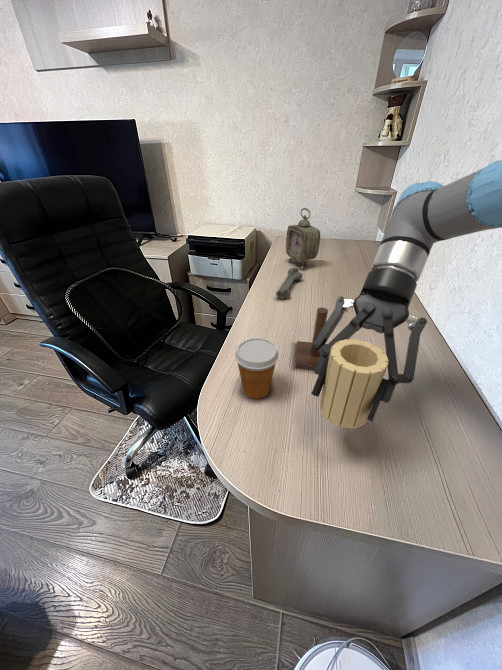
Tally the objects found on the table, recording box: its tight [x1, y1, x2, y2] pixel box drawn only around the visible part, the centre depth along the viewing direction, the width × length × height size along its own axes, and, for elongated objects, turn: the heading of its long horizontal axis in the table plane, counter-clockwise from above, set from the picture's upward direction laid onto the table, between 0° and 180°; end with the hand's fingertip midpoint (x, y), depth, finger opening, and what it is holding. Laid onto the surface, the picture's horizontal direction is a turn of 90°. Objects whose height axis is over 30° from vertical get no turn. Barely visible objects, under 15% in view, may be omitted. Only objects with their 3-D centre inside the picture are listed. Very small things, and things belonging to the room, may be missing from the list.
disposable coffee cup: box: [234, 337, 280, 400], centre depth 62 cm, size 10×10×12 cm
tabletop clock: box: [285, 207, 321, 270], centre depth 125 cm, size 14×9×25 cm, turn 25°
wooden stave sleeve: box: [319, 338, 389, 429], centre depth 44 cm, size 8×8×12 cm
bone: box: [275, 267, 303, 300], centre depth 109 cm, size 22×6×6 cm, turn 159°
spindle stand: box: [295, 306, 329, 371], centre depth 71 cm, size 10×10×15 cm
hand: (341, 407), depth 44 cm, fingers closed on wooden stave sleeve, 8 cm apart
